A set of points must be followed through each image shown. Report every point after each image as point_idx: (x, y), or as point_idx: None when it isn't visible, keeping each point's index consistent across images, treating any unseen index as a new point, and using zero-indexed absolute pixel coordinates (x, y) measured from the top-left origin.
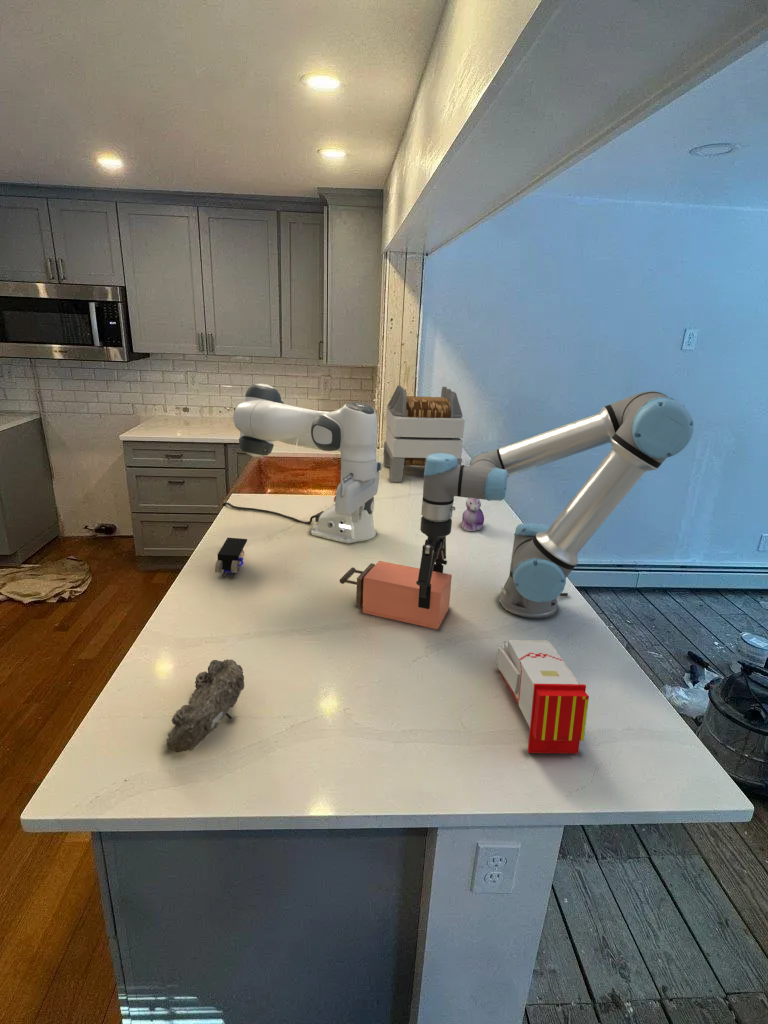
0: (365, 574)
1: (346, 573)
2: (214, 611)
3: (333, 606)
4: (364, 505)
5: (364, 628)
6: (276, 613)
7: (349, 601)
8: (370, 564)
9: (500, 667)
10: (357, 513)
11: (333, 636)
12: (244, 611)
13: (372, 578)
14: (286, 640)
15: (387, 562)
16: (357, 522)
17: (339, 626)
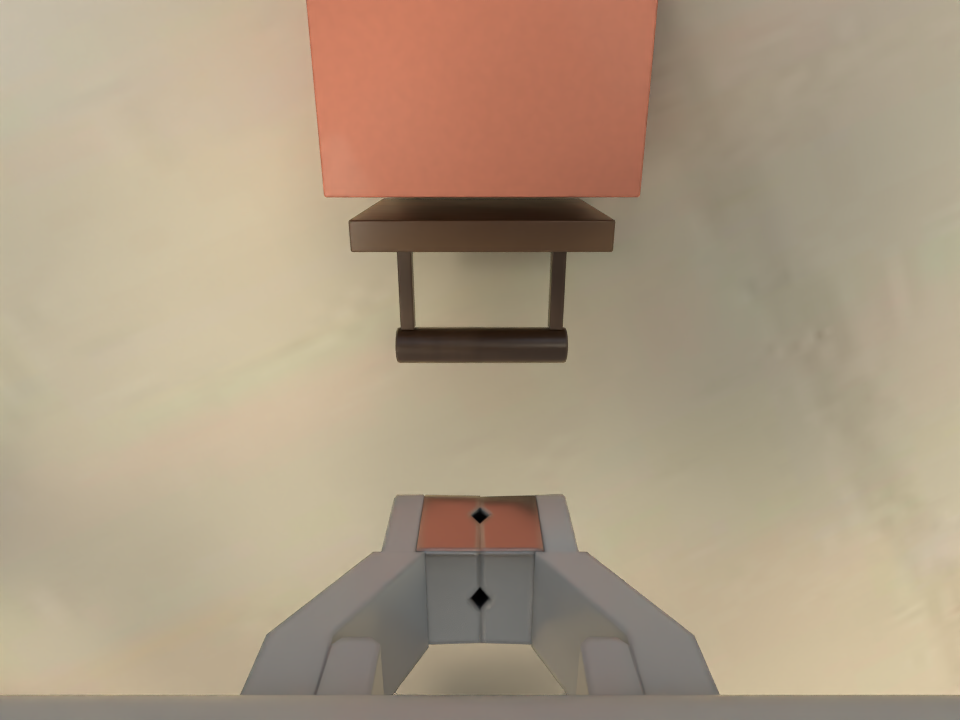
0: (533, 219)
1: (492, 355)
2: (764, 679)
3: (581, 330)
4: (276, 646)
5: (732, 108)
6: (716, 506)
7: (507, 282)
8: (372, 246)
9: None
10: (648, 603)
11: (837, 220)
12: (736, 604)
13: (634, 128)
14: (906, 383)
15: (320, 121)
16: (564, 496)
17: (746, 231)
